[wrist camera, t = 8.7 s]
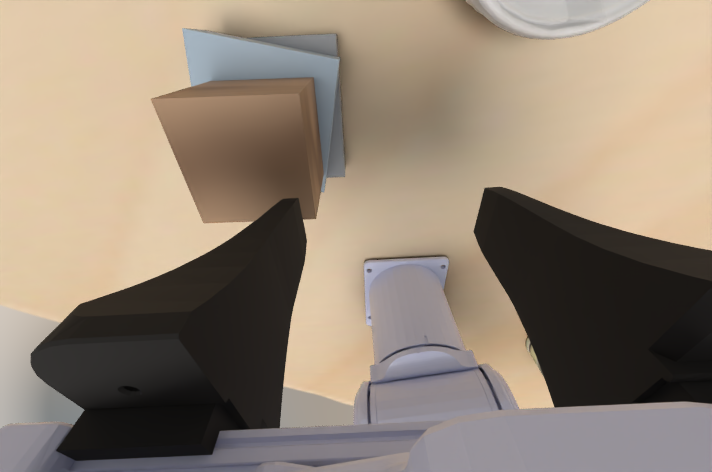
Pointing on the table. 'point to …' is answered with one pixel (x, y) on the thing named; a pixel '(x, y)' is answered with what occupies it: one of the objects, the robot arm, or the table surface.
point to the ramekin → (553, 15)
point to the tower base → (330, 47)
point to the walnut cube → (246, 145)
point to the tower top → (264, 70)
